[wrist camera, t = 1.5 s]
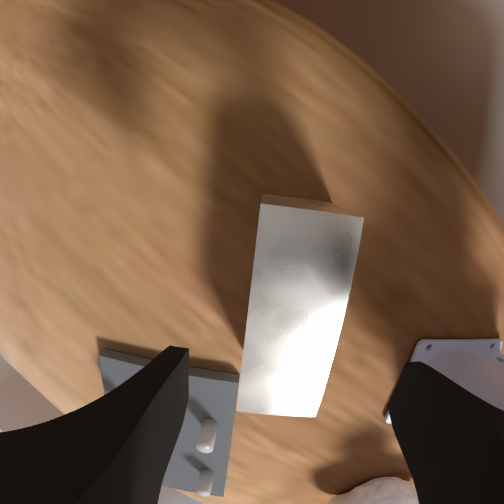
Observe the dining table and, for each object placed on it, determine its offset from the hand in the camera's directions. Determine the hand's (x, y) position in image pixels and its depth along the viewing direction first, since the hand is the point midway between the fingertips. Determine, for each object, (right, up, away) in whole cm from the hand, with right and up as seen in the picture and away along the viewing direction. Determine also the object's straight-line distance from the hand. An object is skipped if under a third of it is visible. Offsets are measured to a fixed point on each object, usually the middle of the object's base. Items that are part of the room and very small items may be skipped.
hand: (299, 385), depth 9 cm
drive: (0, +2, +9) cm, 10 cm away
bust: (+12, -20, +15) cm, 28 cm away
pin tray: (-8, -11, +13) cm, 19 cm away
